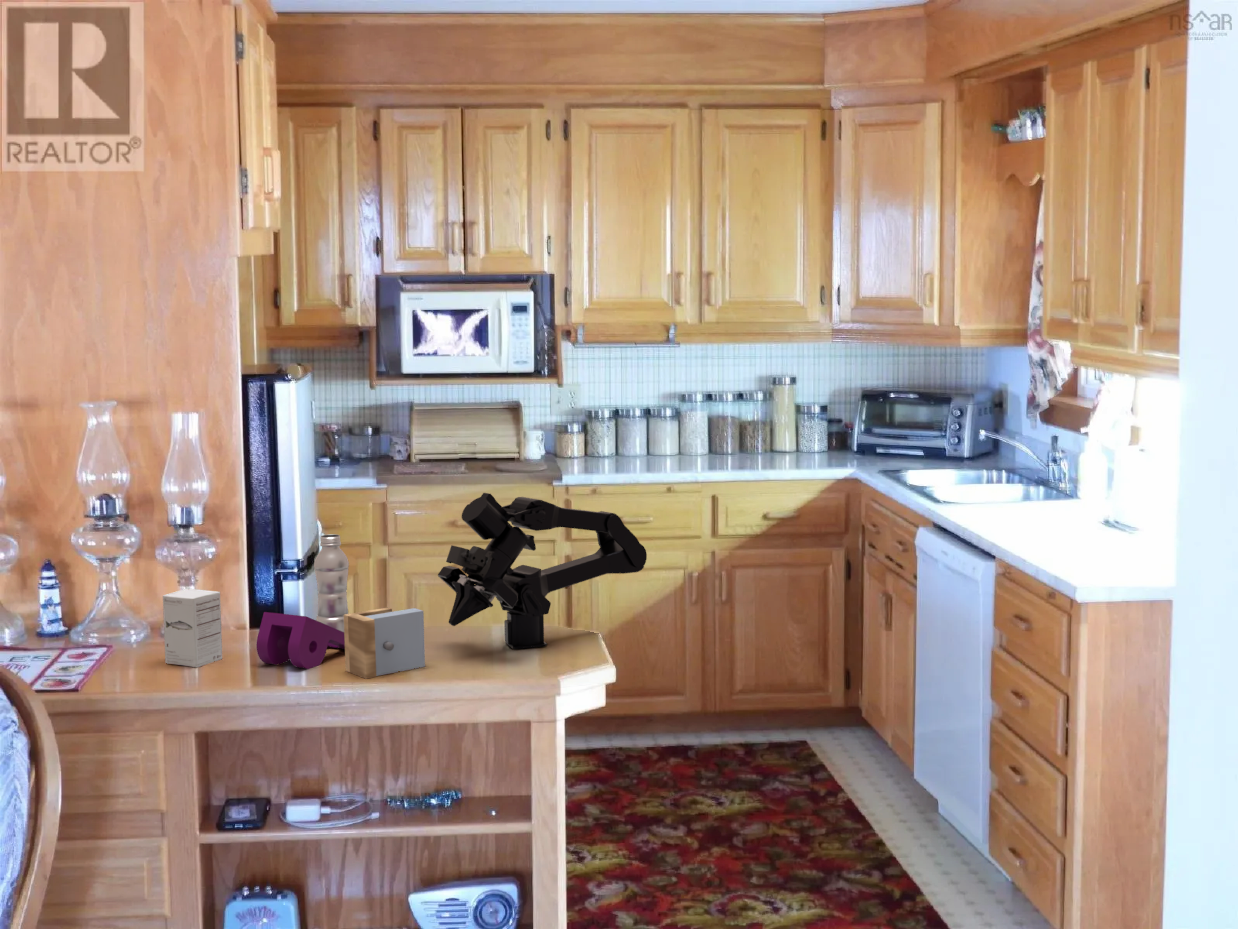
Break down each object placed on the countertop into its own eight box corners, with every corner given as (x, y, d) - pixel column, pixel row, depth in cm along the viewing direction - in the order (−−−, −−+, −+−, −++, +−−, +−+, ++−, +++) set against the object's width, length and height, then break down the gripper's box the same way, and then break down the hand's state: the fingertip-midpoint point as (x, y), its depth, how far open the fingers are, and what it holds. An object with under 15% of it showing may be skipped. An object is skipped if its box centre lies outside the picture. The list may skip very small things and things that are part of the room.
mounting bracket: (311, 680, 276) (251, 658, 261) (322, 636, 278) (263, 611, 263) (353, 685, 272) (294, 663, 256) (363, 640, 274) (306, 616, 259)
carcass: (389, 662, 263) (387, 607, 262) (410, 670, 258) (408, 613, 257) (345, 670, 258) (343, 614, 257) (365, 678, 252) (364, 621, 251)
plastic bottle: (309, 639, 282) (305, 536, 280) (340, 634, 287) (336, 532, 284) (327, 645, 277) (323, 539, 275) (358, 639, 282) (354, 535, 280)
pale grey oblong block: (414, 663, 263) (413, 607, 262) (428, 668, 259) (427, 611, 258) (364, 672, 257) (362, 615, 256) (378, 677, 253) (376, 620, 252)
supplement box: (163, 664, 265) (160, 595, 263) (192, 655, 271) (189, 587, 270) (196, 668, 261) (192, 598, 260) (224, 659, 268) (221, 590, 267)
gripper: (444, 522, 273) (395, 590, 268) (501, 534, 259) (450, 606, 253) (481, 558, 279) (434, 625, 274) (539, 572, 265) (490, 643, 259)
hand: (451, 624), depth 265 cm, fingers closed
